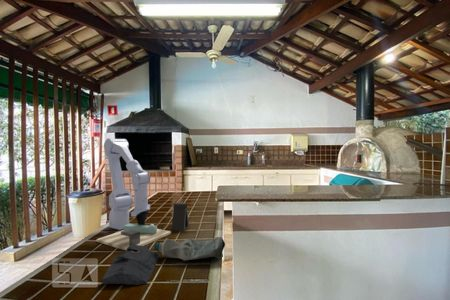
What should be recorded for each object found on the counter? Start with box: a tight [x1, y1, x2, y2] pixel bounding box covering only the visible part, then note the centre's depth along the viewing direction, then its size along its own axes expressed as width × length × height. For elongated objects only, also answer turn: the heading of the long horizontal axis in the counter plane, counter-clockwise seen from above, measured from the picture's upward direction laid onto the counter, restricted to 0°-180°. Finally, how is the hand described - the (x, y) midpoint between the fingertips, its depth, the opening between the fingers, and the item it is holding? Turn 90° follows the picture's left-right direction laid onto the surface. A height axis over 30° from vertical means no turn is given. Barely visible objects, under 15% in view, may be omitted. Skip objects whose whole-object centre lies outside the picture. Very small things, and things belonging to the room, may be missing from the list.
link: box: [123, 223, 158, 234], centre depth 111 cm, size 16×4×3 cm, turn 75°
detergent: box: [153, 236, 226, 262], centre depth 88 cm, size 13×7×25 cm
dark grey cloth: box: [101, 244, 161, 286], centre depth 80 cm, size 15×22×5 cm
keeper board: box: [96, 228, 172, 252], centre depth 107 cm, size 21×22×6 cm
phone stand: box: [171, 202, 190, 232], centre depth 120 cm, size 9×6×12 cm, turn 173°
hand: (141, 228), depth 114 cm, fingers closed, pressing on link
